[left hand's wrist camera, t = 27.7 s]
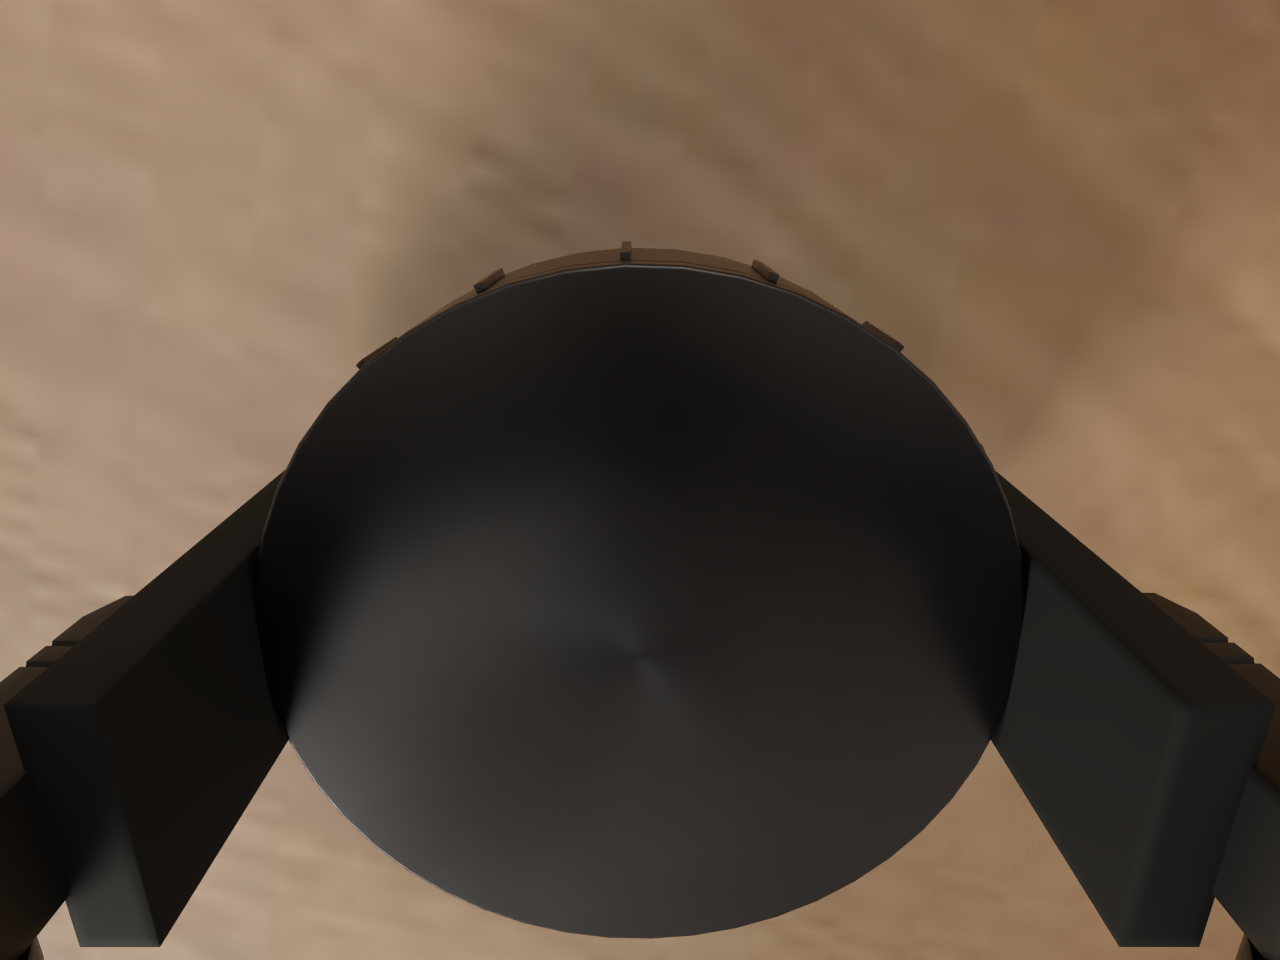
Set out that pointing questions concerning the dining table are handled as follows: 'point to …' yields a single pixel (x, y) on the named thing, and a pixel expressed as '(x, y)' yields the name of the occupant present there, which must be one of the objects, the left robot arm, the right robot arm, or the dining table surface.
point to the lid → (639, 596)
